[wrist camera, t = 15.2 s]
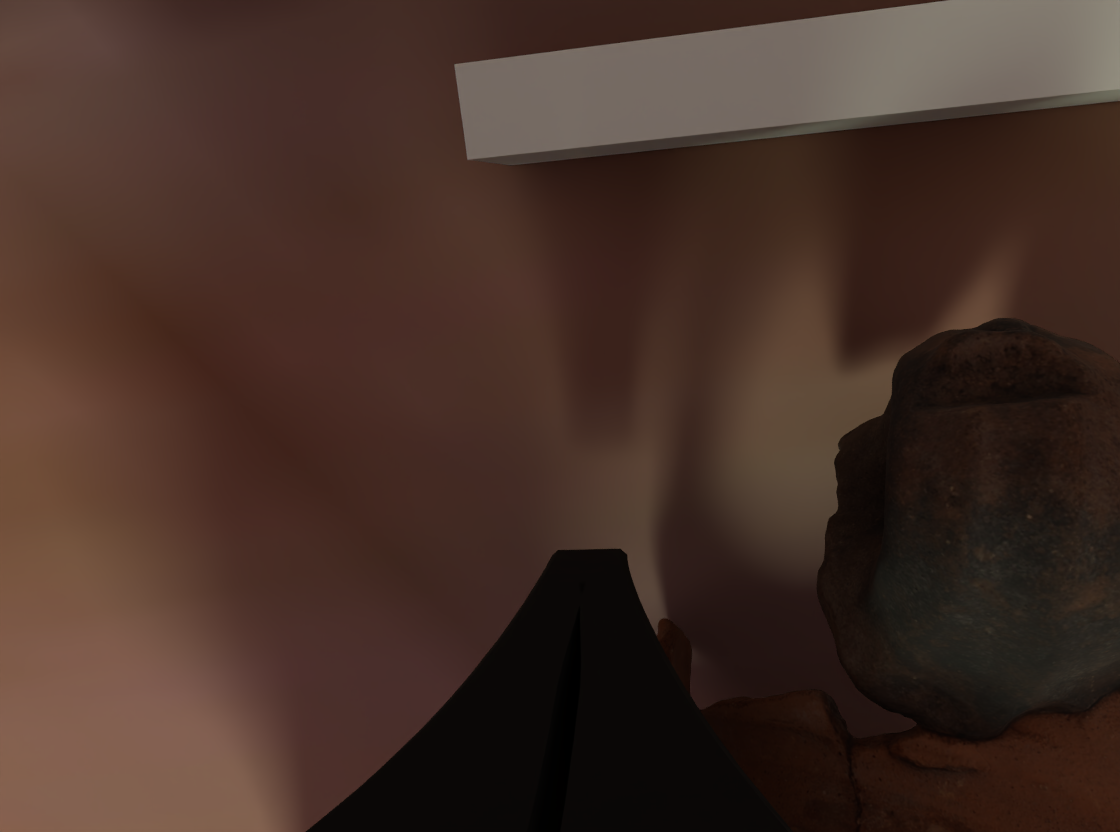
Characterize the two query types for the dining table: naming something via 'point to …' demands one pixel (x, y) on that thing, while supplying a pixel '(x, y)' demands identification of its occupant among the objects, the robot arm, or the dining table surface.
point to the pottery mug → (962, 603)
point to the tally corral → (792, 79)
